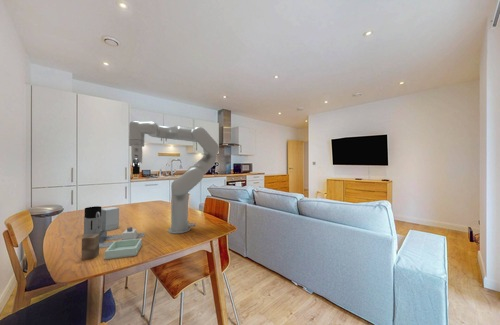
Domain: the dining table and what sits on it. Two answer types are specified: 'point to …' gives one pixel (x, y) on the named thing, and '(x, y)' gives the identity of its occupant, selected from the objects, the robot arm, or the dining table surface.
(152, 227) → the dining table surface
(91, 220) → the glass holder
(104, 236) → the piston rail
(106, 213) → the supplement box
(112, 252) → the tray
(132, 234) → the block
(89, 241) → the stop block
